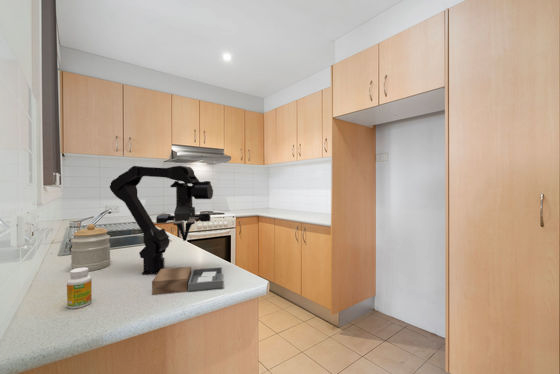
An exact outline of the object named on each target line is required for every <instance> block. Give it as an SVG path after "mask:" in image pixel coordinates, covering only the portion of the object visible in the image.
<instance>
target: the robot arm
mask: <svg viewBox="0 0 560 374" xmlns="http://www.w3.org/2000/svg"><path fill="white" fill-rule="evenodd" d="M143 177H152V178H167V179H170V180H174V182H173V183H172V184H171V185H170V188H175V192H176V193H175V196H176V197H175V199H176V200H175V201H176V203H175V205H176V206H175V209H174V212H173V214H174V215H171V213H162V214H158V215H157V216H156V217H155V218H156V219H155V220H156V221H155V223H156V224H166V223H167V222H172V221H173V225H174V226H177V228H178V230H179V233H180V235H181V238H182V241H183V242H186V241H187V238H188V236H189V234H190V233H189V232H190V229H191V228H192V225H194V224H195V223H196V220H197V221H200V222H211V213H210V212H199V214H196V208H195V206H193V198H194V200H211V199H212V198H213V196H214V189H213V186H212V184H211V181H210V180H206V181H205V180H204V181H200V180H199V179H198V178H197V176H196V175H195V171H194V169H193V168H192V167H191V166H185V165H175V166H174V165H173V166H171V167H155V166H154V167H152V166H151V167H149V166H139V165H133V166H131V167H130V168H129V169H128V170H127V171H125V172H123V173H121V174H120V175H118V176H117V177H116V178H114V179H113V180H111V182H110V185H109V189H110V191H111V192H112V194H113V195H114V196H115V197H116V198H117V199H119V200H120V201H122V202H123V203H124V204H125V206H126V207H127V209H128V211H129V212H130V214H131V216H132V217H133V219H134V221H135V222H136V223H137V225H138V227H139V229H140V230H141V232H142V233H143V243H144V247H143V248H142V249H141V250H140V251H139V252H138V253H139V257H140V259H142V260H143V271H142V273H141V274H142V275H152V274H158V272H159V271H160V270H161V269H166V268H165V257H164V253H166V250H167V248H169V246H170V235H168V234H167V231H166V229H165V228H160V229H159V228H157V226H156V224H155V223H154V221H153V219H152V218H151V217H150V215H149V213H148V211H147V209H146V208H145V207H144V205H143V203H142V202H141V200H140V198H139V197H138V187H137V186H138V185H140V183H141V180H142V179H143ZM185 222H186V223H185Z"/></svg>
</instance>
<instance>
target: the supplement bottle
mask: <svg viewBox="0 0 560 374" xmlns="http://www.w3.org/2000/svg"><path fill="white" fill-rule="evenodd" d="M69 276H70V278H68V280H67V281H66V305H67V308H68V309H72V310H73V309H80V308H83V307H86V306H89V305H90V304H91V303H92V294H93V293H92V288H93V287H92V276H91V275H89V271H88V268H77V269H73V270H72V269H70V271H69Z"/></svg>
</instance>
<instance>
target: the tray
mask: <svg viewBox="0 0 560 374" xmlns="http://www.w3.org/2000/svg"><path fill="white" fill-rule="evenodd" d="M216 271H217V277H216V280H215V281H208V282H197V281H198V277H201V276H202V274H203V272H216ZM223 282H224V281H223V267H222V266H221V267H220V266H219V267H210V268H209V267H207V268H206V267H205V268H195V269H194V268H193V269H191V276H190V279H189V282H188V291H187V292H188V293H191V292H201V291H202V292H203V291H213V290H222V289H223Z"/></svg>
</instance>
